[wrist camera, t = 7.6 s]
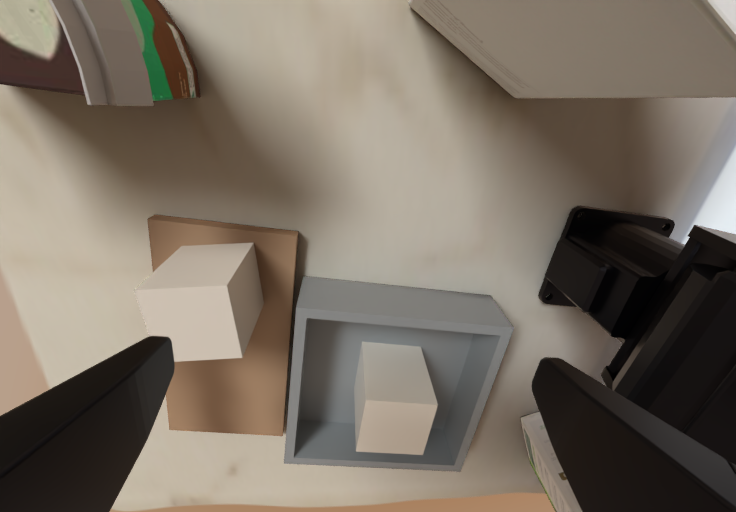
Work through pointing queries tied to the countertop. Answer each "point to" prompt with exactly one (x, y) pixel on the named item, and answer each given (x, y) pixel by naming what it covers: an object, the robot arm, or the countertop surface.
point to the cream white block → (204, 300)
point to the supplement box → (595, 45)
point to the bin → (389, 326)
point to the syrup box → (547, 465)
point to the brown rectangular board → (265, 348)
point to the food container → (96, 50)
